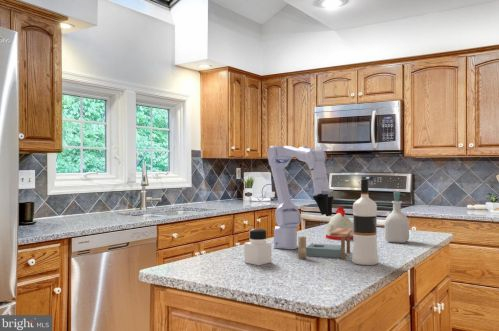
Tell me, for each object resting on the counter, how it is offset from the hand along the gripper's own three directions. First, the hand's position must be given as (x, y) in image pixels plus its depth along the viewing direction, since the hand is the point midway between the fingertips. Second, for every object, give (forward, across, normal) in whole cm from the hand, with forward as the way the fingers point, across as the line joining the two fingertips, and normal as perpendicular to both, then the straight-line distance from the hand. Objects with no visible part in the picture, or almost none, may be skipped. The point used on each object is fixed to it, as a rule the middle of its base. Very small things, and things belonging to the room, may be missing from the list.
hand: (326, 215), depth 161 cm
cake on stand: (+6, +51, +6) cm, 52 cm away
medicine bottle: (+14, -12, +26) cm, 31 cm away
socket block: (+14, +11, +6) cm, 18 cm away
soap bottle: (+12, +49, -19) cm, 54 cm away
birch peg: (+14, 0, +12) cm, 19 cm away
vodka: (+19, +1, -10) cm, 22 cm away
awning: (+15, +11, -1) cm, 19 cm away
